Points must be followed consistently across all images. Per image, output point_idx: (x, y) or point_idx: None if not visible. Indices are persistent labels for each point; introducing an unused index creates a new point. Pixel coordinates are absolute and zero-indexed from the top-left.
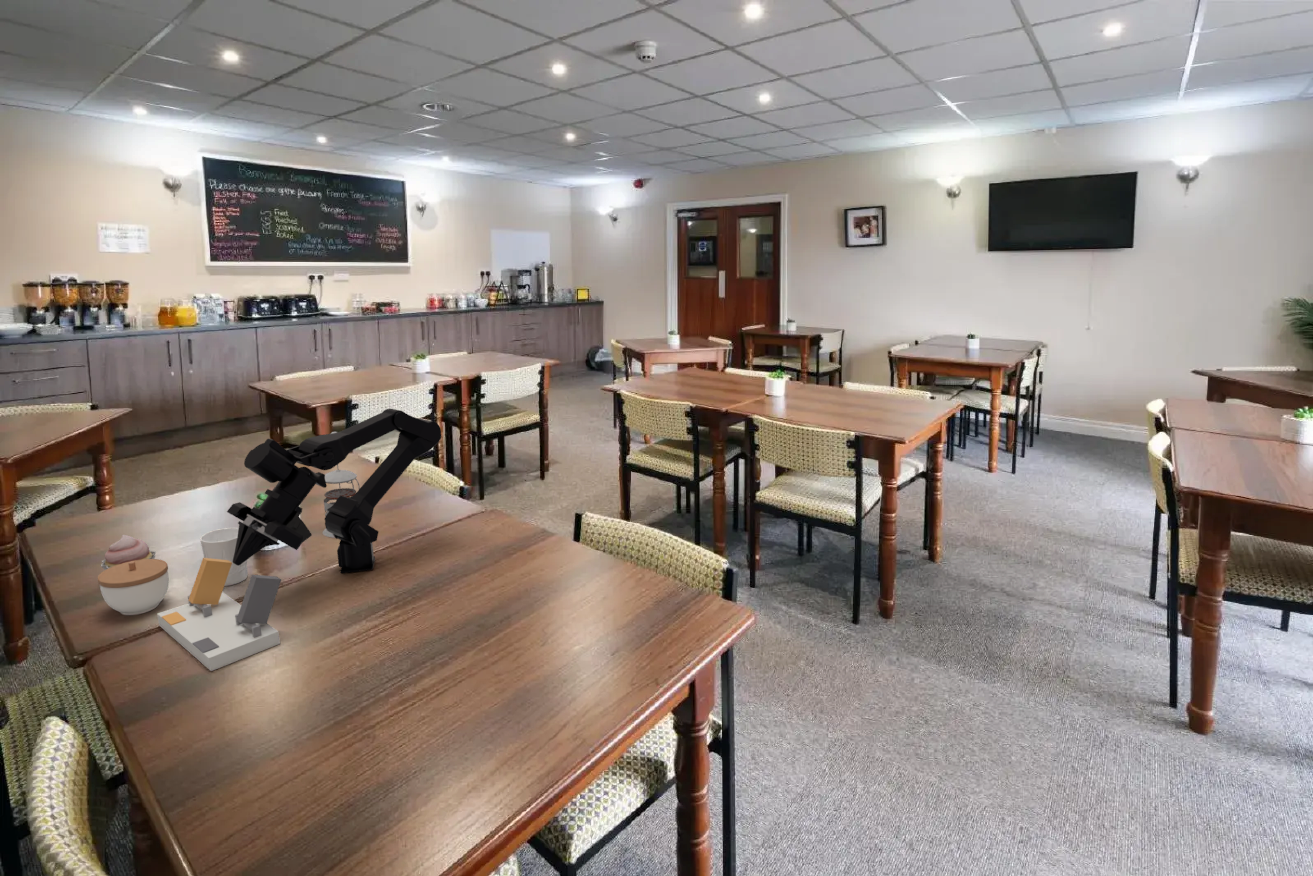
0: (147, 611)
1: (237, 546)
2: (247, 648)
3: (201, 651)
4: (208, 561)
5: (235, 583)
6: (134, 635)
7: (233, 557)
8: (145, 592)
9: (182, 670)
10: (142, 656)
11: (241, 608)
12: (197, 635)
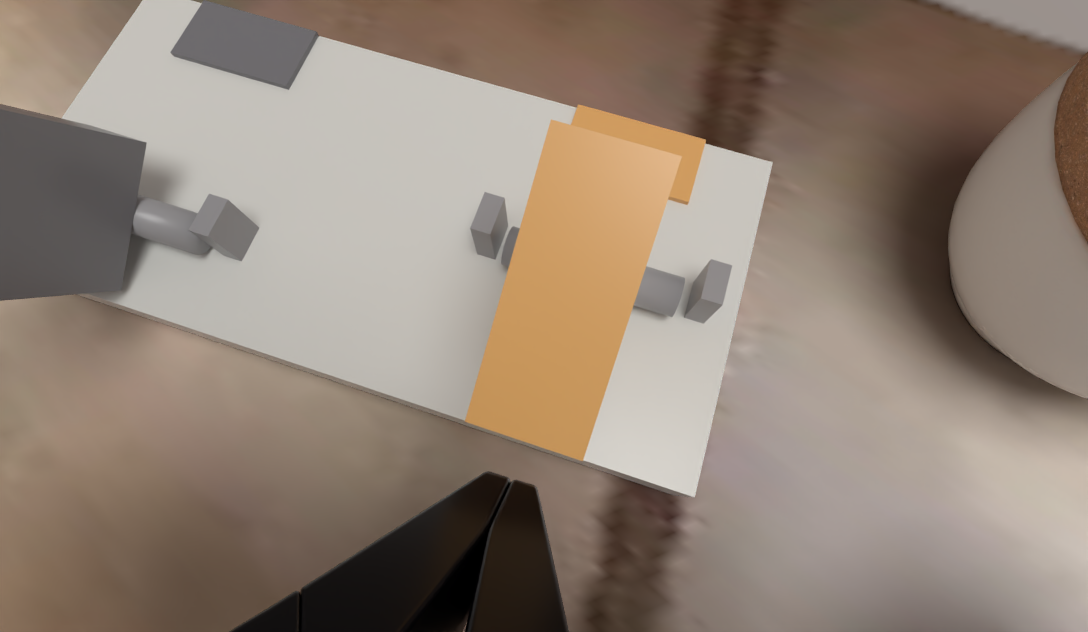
0: (950, 268)
1: (502, 623)
2: None
3: (220, 6)
4: (546, 142)
5: None
6: (753, 110)
7: (538, 513)
8: (996, 172)
9: (308, 13)
10: (550, 24)
11: (61, 122)
12: (364, 91)
